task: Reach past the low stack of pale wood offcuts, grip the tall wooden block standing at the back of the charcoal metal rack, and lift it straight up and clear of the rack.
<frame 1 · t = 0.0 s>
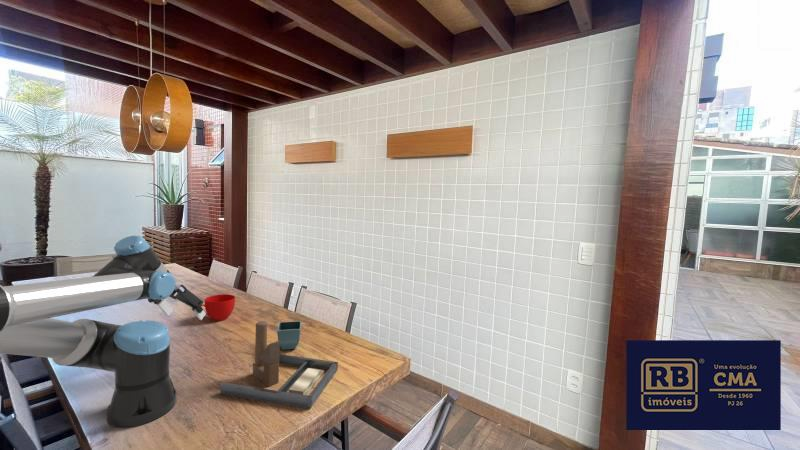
hand: (186, 314, 119), 15 cm above the table, tool tilted 35°, fingers open, 13 cm apart
flower pot: (289, 347, 131), on the table
offcut stack: (306, 386, 105), on the table
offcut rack: (283, 381, 106), on the table
ceramic cup: (215, 319, 155), on the table
wooden block: (265, 379, 108), on the table
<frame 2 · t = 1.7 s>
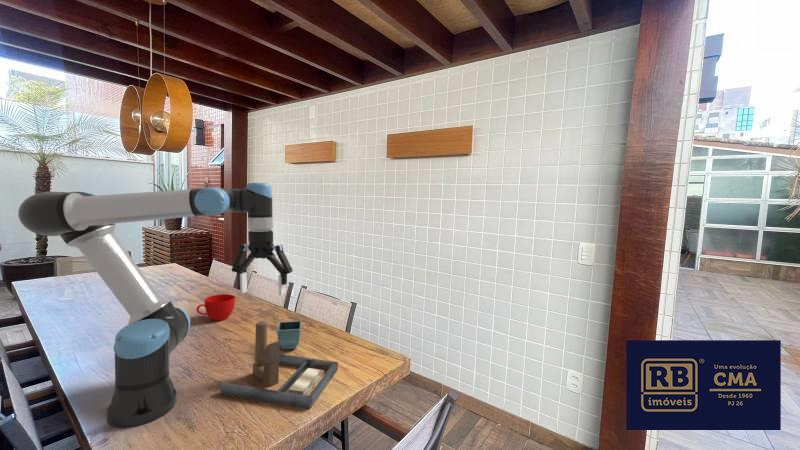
hand: (262, 293, 108), 28 cm above the table, tool pointing down, fingers open, 13 cm apart
nothing on the table moved.
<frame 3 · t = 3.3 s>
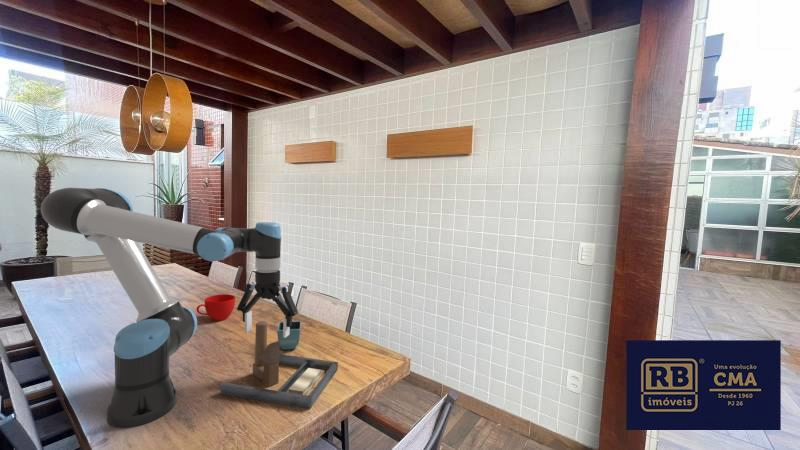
hand: (267, 333, 106), 15 cm above the table, tool pointing down, fingers open, 13 cm apart
nothing on the table moved.
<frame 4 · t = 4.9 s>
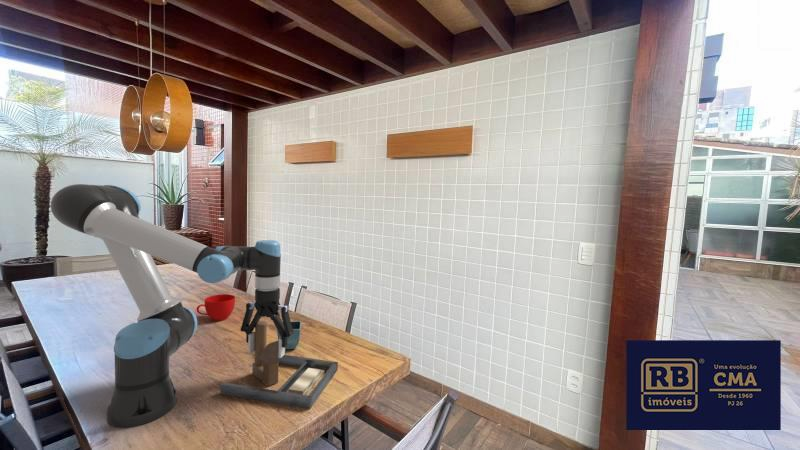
hand: (266, 354, 107), 8 cm above the table, tool pointing down, fingers closed on wooden block, 10 cm apart
wooden block: (265, 378, 108), on the table, touching gripper
everything else where it was.
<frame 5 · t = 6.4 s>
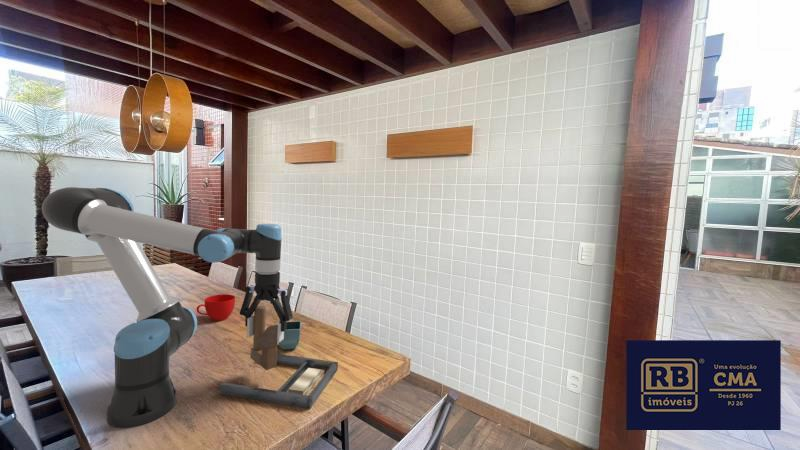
hand: (265, 338, 106), 14 cm above the table, tool pointing down, fingers closed on wooden block, 10 cm apart
wooden block: (263, 363, 107), point 5 cm above the table, touching gripper
everything else where it was.
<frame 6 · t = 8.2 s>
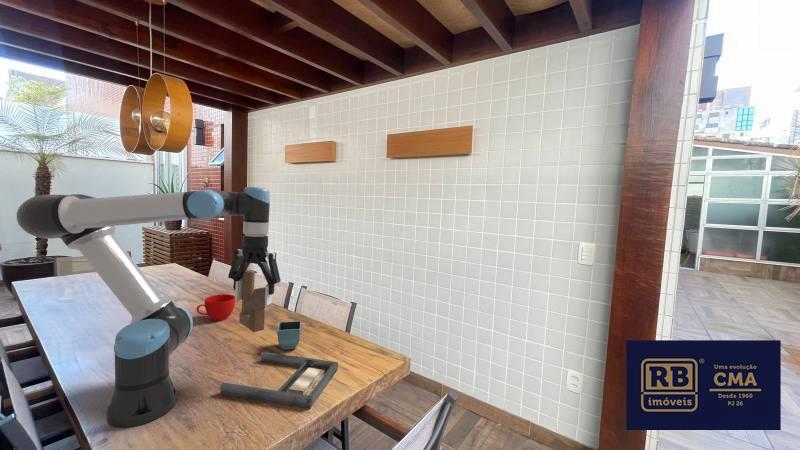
hand: (253, 301, 107), 25 cm above the table, tool pointing down, fingers closed on wooden block, 10 cm apart
wooden block: (251, 326, 107), point 17 cm above the table, touching gripper
everything else where it was.
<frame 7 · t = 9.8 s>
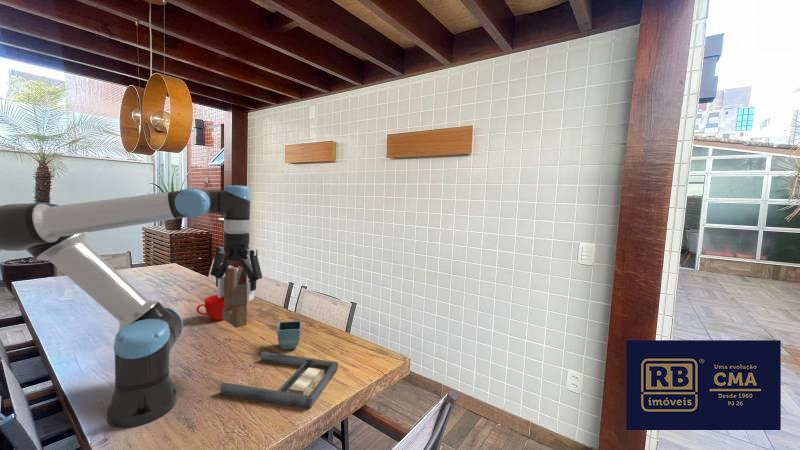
hand: (235, 298, 109), 26 cm above the table, tool pointing down, fingers closed on wooden block, 10 cm apart
wooden block: (234, 322, 109), point 17 cm above the table, touching gripper
everything else where it was.
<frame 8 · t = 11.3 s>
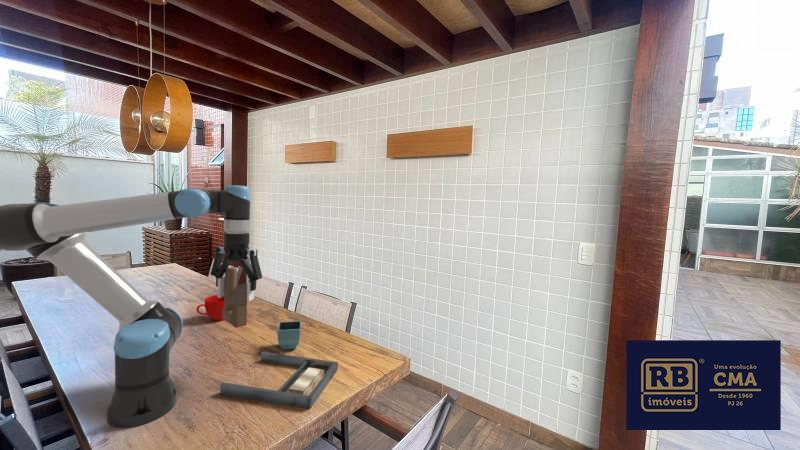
hand: (235, 298, 109), 26 cm above the table, tool pointing down, fingers closed on wooden block, 10 cm apart
wooden block: (234, 322, 109), point 17 cm above the table, touching gripper
everything else where it was.
at the end: the gripper is holding wooden block; wooden block point 17.2 cm above the table; offcut stack moved 0.6 cm from its start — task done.
